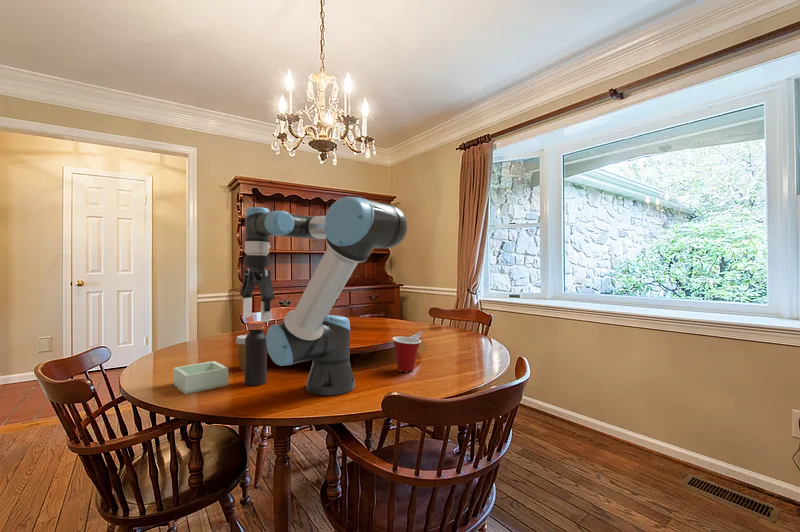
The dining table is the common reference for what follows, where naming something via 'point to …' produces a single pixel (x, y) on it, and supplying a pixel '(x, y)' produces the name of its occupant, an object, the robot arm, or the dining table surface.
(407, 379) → the dining table surface
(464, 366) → the dining table surface
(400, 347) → the plastic cup
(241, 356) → the disposable coffee cup
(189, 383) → the open rectangular box
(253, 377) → the vinegar
